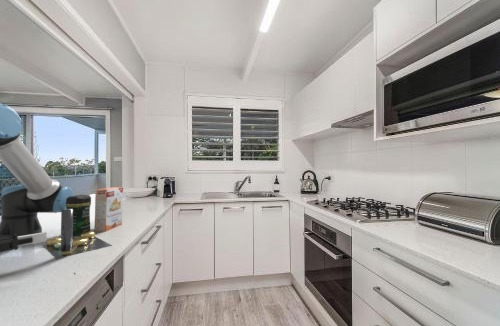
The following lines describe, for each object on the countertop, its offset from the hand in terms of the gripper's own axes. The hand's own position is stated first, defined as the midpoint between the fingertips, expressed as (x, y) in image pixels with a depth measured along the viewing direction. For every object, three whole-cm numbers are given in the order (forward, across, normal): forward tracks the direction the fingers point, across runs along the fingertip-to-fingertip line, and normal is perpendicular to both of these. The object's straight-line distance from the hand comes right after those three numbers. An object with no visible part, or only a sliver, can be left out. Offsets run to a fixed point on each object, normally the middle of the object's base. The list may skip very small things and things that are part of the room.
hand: (45, 236), depth 75 cm
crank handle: (+9, -7, -8) cm, 14 cm away
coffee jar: (+17, -30, -9) cm, 35 cm away
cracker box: (+30, -30, -9) cm, 43 cm away
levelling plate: (+11, -10, -9) cm, 18 cm away
